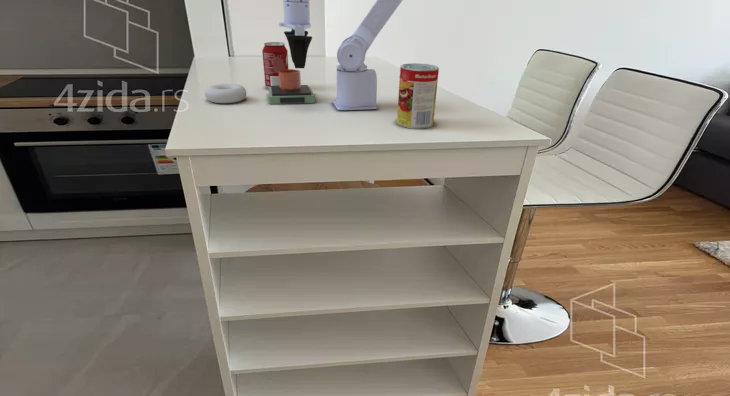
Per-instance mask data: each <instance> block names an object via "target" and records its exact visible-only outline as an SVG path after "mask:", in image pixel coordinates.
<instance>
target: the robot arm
mask: <svg viewBox="0 0 730 396" xmlns="http://www.w3.org/2000/svg"><path fill="white" fill-rule="evenodd" d="M402 2H403V0H376V1H375V2H374V4H373V5H372V6H371V8H370V9H369V10H368V13H367V14H366V15H365V17H364V18H363V20H362V21H361V22H360V23H359V25H358V27H357V28H356V29H355V31H354V32H353V33H352V35H350V36H349V37H346V38H345V39H344V40H343V41H342V42H341V44H340V45H339V47H338V49H337V51H336V59H337V62H338V64H339V65H337V66H336V100H333V101H332V103H333V105H334V106H335V108H336V110H337V111H360V110H361V111H363V110H377V109H378V107H377V93H378V92H377V91H378V77H377V76H378V75H377V71H376V69H373V68H368V66H367V64H365V60H366V55H367V52H368V50H369V49H370V47H371V46H372V44H373V43H374V41H375V40H376V38H377V36H378V35H379V34H380V32H381V31H382V29H383V28H384V27H385V25H386V24H387V22H388V21H389V20H390V19H391V17H392V16H393V14H394V13H395V12H396V10H397V9H398V7H399V6H400V4H401V3H402ZM310 16H311V15H310V0H283V22H282V21H281V22H278V26H279V27H283V28H287V29H290V31H283V34H284V35H285V37H286V40H287V43H288V47H289V52H290V57H291V61H292V63H293V66H294V69H305V67H306V63H307V56H308V50H309V48H310V44H311V43H312V39H313V36H311V35H309V31H308V30H307V29H310V28H311V27H312V25H311V17H310Z"/></svg>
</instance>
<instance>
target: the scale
mask: <svg viewBox="0 0 730 396" xmlns="http://www.w3.org/2000/svg"><path fill="white" fill-rule="evenodd" d="M268 97H269V98H268V99H269V104H270V105H288V104H289V105H293V104H314V103H316V99H315V98H316V97H315V93H314V92H313V90H312V88H311V86H309V85H308V84H301V88H299V90H296V91H284V90H281V88H280V87H279V85H276V86H271V87H269V88H268Z"/></svg>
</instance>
